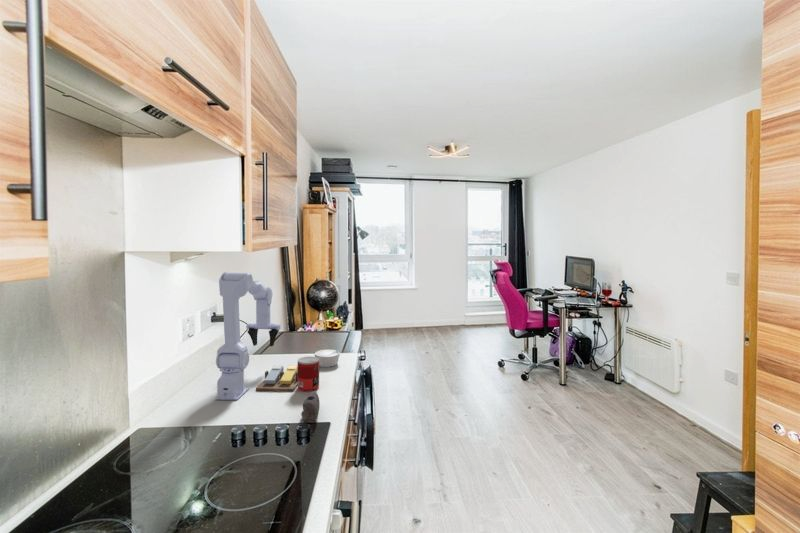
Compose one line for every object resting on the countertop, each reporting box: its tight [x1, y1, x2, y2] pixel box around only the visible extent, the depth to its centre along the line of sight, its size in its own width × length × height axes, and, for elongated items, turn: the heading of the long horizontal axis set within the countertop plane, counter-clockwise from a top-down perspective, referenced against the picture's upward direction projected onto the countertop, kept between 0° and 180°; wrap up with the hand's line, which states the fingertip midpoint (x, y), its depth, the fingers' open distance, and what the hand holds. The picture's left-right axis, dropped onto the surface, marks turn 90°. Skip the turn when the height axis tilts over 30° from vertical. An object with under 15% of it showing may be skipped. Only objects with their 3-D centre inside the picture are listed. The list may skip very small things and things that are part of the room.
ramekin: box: [314, 349, 341, 368], centre depth 164 cm, size 11×11×5 cm
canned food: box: [297, 356, 320, 392], centre depth 136 cm, size 8×8×11 cm
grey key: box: [263, 364, 284, 384], centre depth 141 cm, size 10×4×2 cm, turn 179°
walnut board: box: [255, 370, 298, 392], centre depth 141 cm, size 16×14×4 cm
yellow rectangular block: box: [280, 365, 298, 384], centre depth 141 cm, size 10×4×2 cm, turn 179°
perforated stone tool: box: [300, 391, 321, 424], centre depth 115 cm, size 15×5×7 cm, turn 7°
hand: (263, 345), depth 157 cm, fingers open, 7 cm apart
